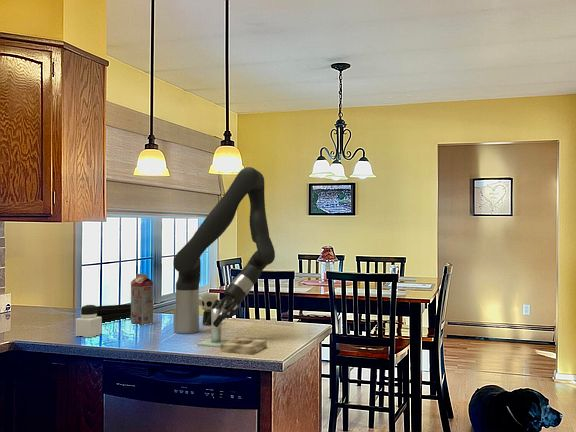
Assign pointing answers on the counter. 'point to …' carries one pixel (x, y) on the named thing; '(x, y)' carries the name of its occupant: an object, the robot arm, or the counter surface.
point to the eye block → (243, 346)
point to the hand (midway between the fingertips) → (211, 324)
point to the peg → (214, 330)
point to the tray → (114, 312)
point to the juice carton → (141, 300)
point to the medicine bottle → (88, 322)
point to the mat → (212, 343)
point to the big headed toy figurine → (207, 304)
